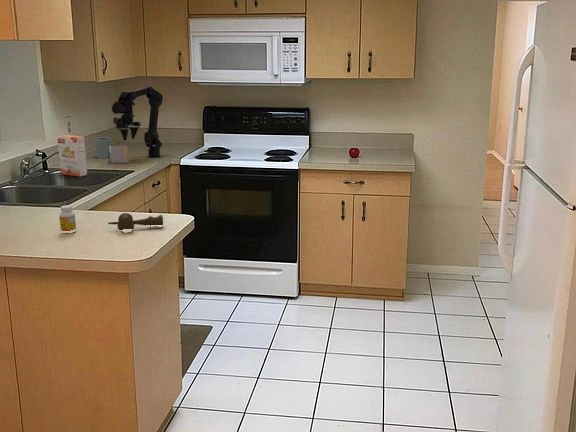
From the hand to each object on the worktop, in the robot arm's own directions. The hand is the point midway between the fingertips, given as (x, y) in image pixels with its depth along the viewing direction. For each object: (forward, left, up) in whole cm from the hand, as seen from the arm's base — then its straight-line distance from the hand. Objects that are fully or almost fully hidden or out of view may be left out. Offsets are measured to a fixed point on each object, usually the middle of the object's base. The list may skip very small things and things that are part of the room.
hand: (129, 139), depth 374 cm
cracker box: (+37, +28, -14) cm, 48 cm away
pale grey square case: (+7, +1, -13) cm, 15 cm away
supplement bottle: (+57, +141, -14) cm, 152 cm away
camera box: (+8, -4, -13) cm, 16 cm away
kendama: (+34, +147, -14) cm, 152 cm away
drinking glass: (+11, -23, -14) cm, 29 cm away
